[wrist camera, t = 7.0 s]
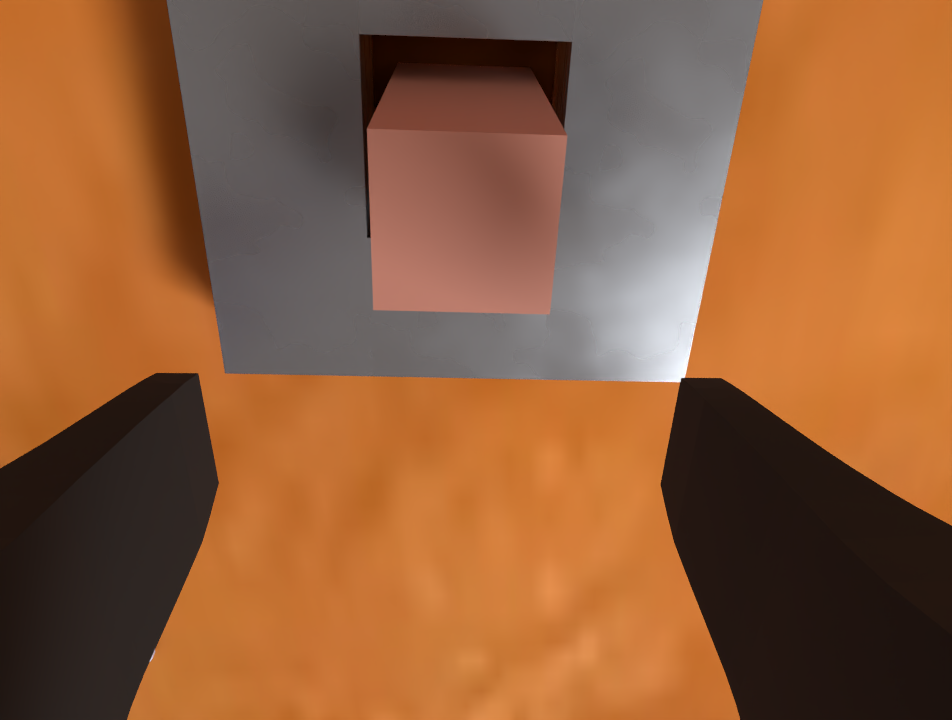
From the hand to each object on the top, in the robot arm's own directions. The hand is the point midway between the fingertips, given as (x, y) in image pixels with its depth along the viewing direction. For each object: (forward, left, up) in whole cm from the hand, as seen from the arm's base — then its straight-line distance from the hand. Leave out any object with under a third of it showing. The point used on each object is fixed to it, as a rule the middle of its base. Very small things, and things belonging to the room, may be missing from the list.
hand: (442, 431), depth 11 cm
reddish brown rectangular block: (0, +2, -10) cm, 10 cm away
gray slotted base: (0, +3, -10) cm, 10 cm away
